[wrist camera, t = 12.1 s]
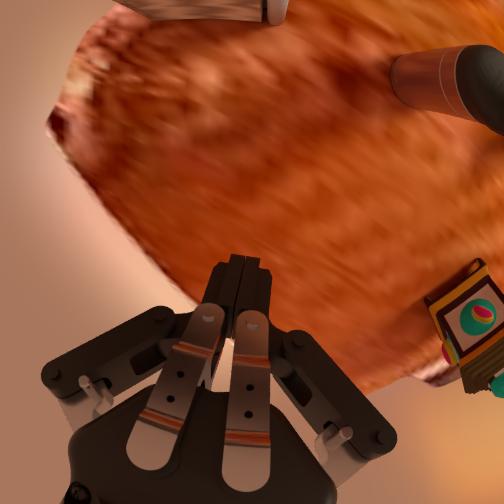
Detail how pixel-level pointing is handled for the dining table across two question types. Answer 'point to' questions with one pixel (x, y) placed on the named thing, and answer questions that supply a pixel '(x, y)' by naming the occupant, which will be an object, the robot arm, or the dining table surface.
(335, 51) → the dining table surface
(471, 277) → the decorative lantern
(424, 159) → the dining table surface
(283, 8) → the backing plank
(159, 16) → the ash plank
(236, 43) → the dining table surface
